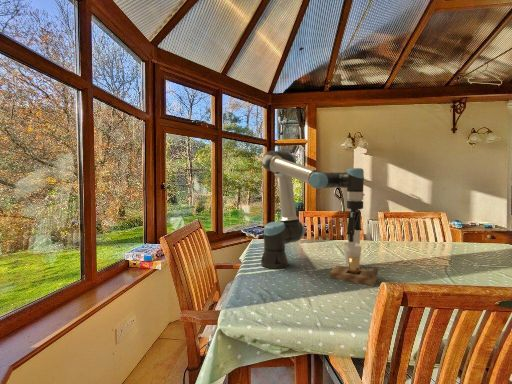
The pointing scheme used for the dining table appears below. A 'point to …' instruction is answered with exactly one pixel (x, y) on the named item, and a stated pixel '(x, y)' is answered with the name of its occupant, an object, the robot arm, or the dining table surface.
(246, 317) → the dining table surface
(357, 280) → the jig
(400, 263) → the dining table surface
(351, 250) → the cup
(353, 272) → the golden brass cylinder
